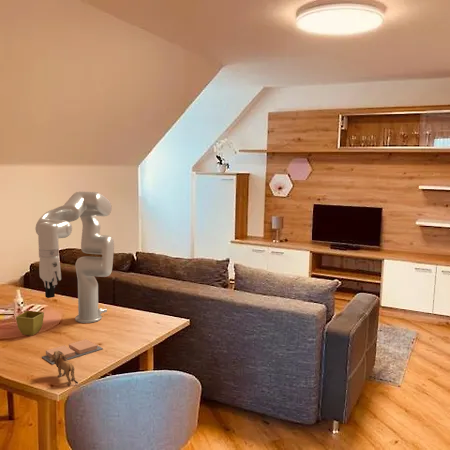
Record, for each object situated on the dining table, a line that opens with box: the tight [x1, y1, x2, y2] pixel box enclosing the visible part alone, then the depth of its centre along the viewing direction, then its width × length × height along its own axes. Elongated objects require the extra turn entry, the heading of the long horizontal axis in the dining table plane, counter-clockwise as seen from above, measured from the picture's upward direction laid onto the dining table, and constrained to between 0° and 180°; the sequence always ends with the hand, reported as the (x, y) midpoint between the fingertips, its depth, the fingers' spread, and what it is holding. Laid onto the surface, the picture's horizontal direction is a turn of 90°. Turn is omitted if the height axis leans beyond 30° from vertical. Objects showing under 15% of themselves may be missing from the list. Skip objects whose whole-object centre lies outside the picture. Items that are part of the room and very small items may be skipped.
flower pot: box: [15, 310, 45, 336], centre depth 210 cm, size 9×9×9 cm
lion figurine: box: [49, 351, 79, 386], centre depth 167 cm, size 15×5×9 cm, turn 53°
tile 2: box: [68, 338, 98, 354], centre depth 194 cm, size 8×2×9 cm
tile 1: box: [45, 345, 75, 358], centre depth 187 cm, size 8×2×9 cm
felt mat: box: [41, 345, 104, 366], centre depth 190 cm, size 22×9×1 cm, turn 136°
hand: (50, 297), depth 189 cm, fingers closed
